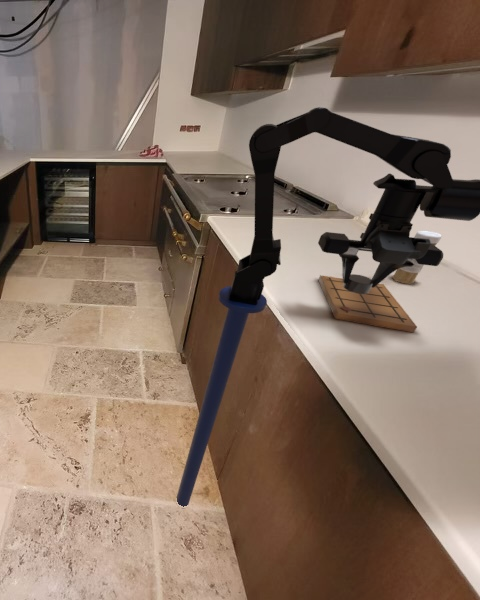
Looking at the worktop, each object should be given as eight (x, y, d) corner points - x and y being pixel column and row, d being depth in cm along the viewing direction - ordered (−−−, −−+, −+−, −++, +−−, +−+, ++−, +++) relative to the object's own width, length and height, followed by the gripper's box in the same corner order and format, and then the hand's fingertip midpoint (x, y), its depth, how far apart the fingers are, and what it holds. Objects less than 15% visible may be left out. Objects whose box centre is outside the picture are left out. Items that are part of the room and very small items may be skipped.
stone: (345, 291, 69) (350, 281, 68) (340, 282, 73) (345, 272, 71) (371, 295, 68) (377, 285, 66) (365, 285, 71) (370, 276, 70)
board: (335, 318, 72) (338, 312, 72) (317, 280, 88) (320, 274, 87) (413, 332, 68) (418, 326, 67) (380, 289, 83) (384, 283, 83)
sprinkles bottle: (395, 275, 90) (421, 228, 83) (416, 281, 87) (445, 234, 80) (388, 279, 88) (414, 232, 81) (409, 286, 85) (438, 237, 78)
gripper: (346, 220, 58) (314, 294, 66) (484, 233, 52) (430, 312, 60) (332, 204, 67) (305, 271, 75) (448, 214, 61) (405, 286, 69)
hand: (357, 284), depth 70 cm, fingers closed on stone, 4 cm apart
